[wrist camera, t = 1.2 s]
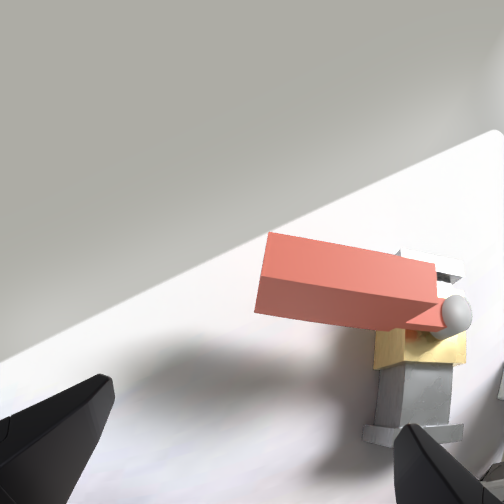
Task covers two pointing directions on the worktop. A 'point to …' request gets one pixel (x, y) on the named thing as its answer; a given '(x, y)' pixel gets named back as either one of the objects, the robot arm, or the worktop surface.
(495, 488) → the electrical switch
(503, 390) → the skincare box
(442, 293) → the valve body
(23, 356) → the worktop surface
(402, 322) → the lever
